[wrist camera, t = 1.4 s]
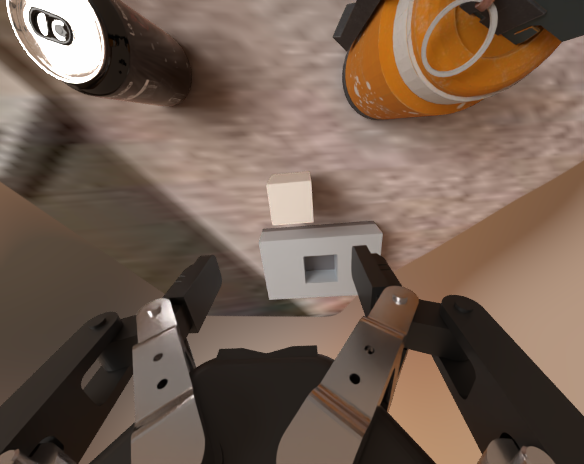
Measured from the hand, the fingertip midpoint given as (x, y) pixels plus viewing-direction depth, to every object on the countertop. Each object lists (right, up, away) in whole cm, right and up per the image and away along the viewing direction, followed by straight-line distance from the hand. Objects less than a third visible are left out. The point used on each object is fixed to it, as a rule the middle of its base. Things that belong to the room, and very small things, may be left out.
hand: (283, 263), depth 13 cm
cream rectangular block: (+1, +8, +17) cm, 19 cm away
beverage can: (-14, +20, +12) cm, 27 cm away
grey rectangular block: (+5, -2, +21) cm, 22 cm away
